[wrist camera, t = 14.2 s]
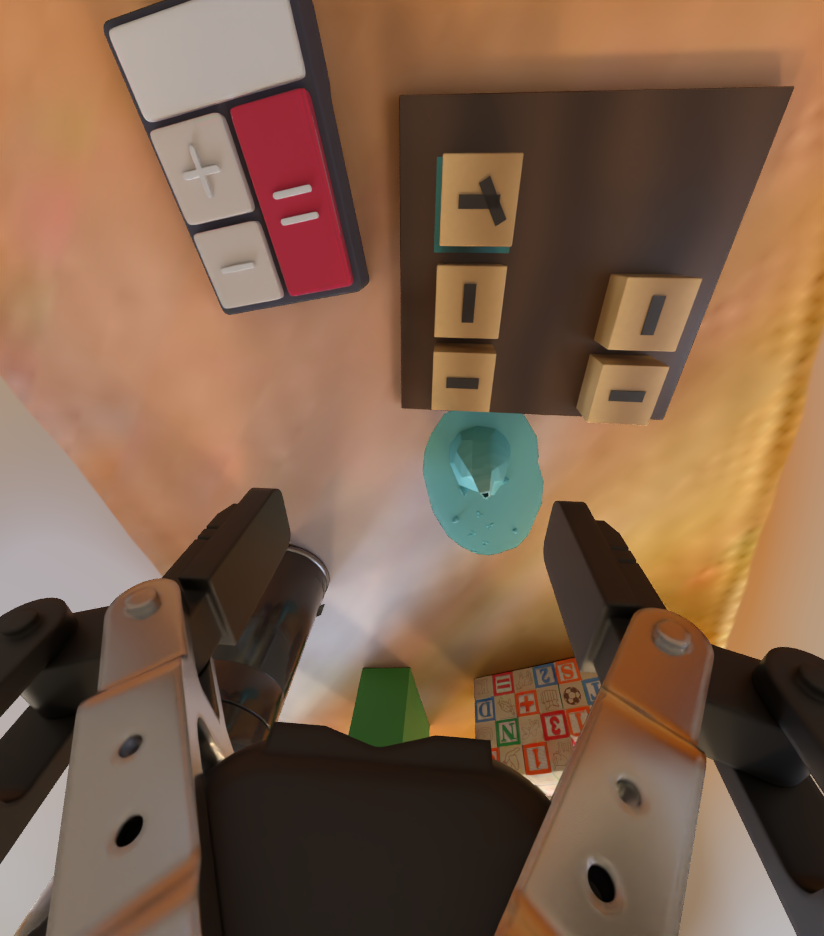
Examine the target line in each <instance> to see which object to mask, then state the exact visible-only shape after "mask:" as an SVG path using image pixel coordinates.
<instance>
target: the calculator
mask: <svg viewBox="0 0 824 936" xmlns="http://www.w3.org/2000/svg"><path fill="white" fill-rule="evenodd" d="M104 33H105V36H106V38H107V41H108V43H109V46H110V48H111V50H112V53H113V55H114V57H115V60H116V62H117V64H118V67H119V69H120V71H121V74H122V76H123V78H124V81H125V83H126V85H127V88H128V90H129V92H130V95H131V97H132V99H133V102H134V104H135V107H136V109H137V111H138V114H139V116H140V118H141V121H142V123H143V125H144V128H145V130H146V132H147V135H148V137H149V139H150V142H151V144H152V146H153V149H154V151H155V153H156V156H157V158H158V160H159V163H160V165H161V167H162V170H163V172H164V174H165V177H166V179H167V181H168V184H169V186H170V188H171V191H172V193H173V195H174V198H175V200H176V202H177V205H178V207H179V210H180V212H181V214H182V217H183V219H184V221H185V224H186V226H187V228H188V231H189V233H190V235H191V238H192V240H193V242H194V245H195V247H196V249H197V252H198V254H199V256H200V259H201V261H202V263H203V266H204V268H205V270H206V273H207V275H208V277H209V280H210V282H211V284H212V287H213V289H214V291H215V294H216V296H217V298H218V301H219V303H220V305H221V308H222V310H223V311H224V312H225V313H226V314H228V315H231V314H237V313H243V312H248V311H254V310H259V309H265V308H270V307H276V306H281V305H287V304H292V303H298V302H303V301H309V300H314V299H320V298H325V297H331V296H336V295H342V294H347V293H353V292H357V291H360V290H361V289H362V288H364V287H365V286H366V285H367V284H368V283H369V275H368V271H367V266H366V261H365V256H364V252H363V247H362V242H361V238H360V233H359V228H358V224H357V219H356V214H355V209H354V205H353V200H352V195H351V191H350V186H349V181H348V176H347V172H346V167H345V162H344V158H343V153H342V148H341V144H340V139H339V134H338V129H337V125H336V120H335V115H334V111H333V106H332V101H331V92H330V83H329V78H328V73H327V68H326V63H325V58H324V54H323V49H322V44H321V39H320V34H319V30H318V25H317V20H316V15H315V11H314V6H313V2H312V0H164V1H161V2H158V3H155V4H153V5H150V6H147V7H144V8H141V9H138V10H136V11H133V12H130V13H127V14H124V15H122V16H119V17H116V18H113V19H110V20H108V21H106V22H105V24H104Z"/></svg>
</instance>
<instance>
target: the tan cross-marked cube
mask: <svg viewBox="0 0 824 936" xmlns="http://www.w3.org/2000/svg"><path fill="white" fill-rule="evenodd" d="M523 156H524V154H523V152H510V153H444V154H443V166H442V191H441V216H440V241H439V245H440V246H491V247H511V246H512V242H513V234H514V226H515V218H516V210H517V203H518V195H519V187H520V179H521V171H522V164H523Z"/></svg>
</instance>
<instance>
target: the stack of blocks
mask: <svg viewBox="0 0 824 936" xmlns="http://www.w3.org/2000/svg"><path fill="white" fill-rule="evenodd" d="M600 686H601V684H600V681H599V678H598V675H597V673H588V672H580V671H579V668H578V665H577V662H576V659H575V658H571V659H566V660H562V661H557V662H554V663H549V664H544V665H540V666H535V667H531V668H526V669H521V670H516V671H513V672H505V673H500V674H495V675H491V676H485V677H481V678H476V679H474V698H475V723H476V724H475V739H482V740H491V750H492V759H495V760H497V761H500V762H502V763H504V764H506V765H507V766H509V767H511V768H513V769H514V770H516V771H517V772H519V773H520V774H521V775H523V776H524V777H526V778H527V779H528V780H529V781H531V782H532V783H533V784H534V785H535V786H536V787H537V788H538V789H539V790H540V791H542V792H543V794H544V795H553V793H554V790H555V788H556V786H557V784H558V781H559V779H560V777H561V775H562V772H563V770H564V768H565V766H566V763H567V761H568V759H569V757H570V754H571V752H572V750H573V748H574V745H575V743H576V741H577V739H578V736H579V734H580V732H581V729H582V727H583V725H584V723H585V720H586V718H587V716H588V714H589V711H590V709H591V707H592V704H593V702H594V700H595V698H596V695H597V693H598V691H599V689H600Z"/></svg>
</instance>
